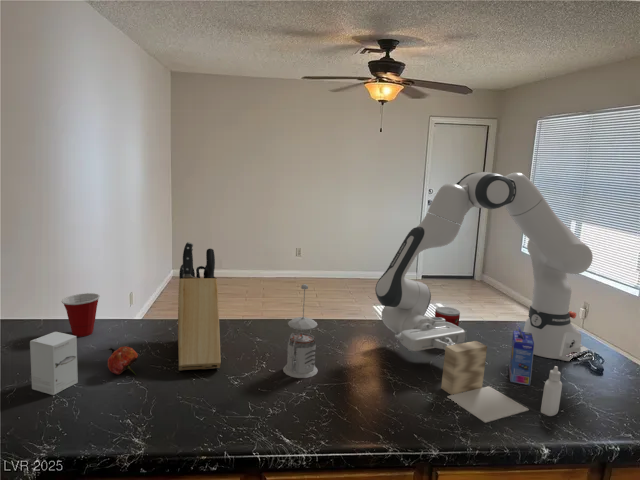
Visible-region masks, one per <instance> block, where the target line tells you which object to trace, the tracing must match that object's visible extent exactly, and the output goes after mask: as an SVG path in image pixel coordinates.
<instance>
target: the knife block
mask: <svg viewBox="0 0 640 480" xmlns="http://www.w3.org/2000/svg"><path fill="white" fill-rule="evenodd" d="M193 247H194V243H192V242H189V241H187V242H186V243H185V246H184V249H183V252H182V264H181V266H180V268H179V275H178V276H179V277H178V278H179V279H178V280H179V281H178V298H177V300H178V302H177V303H178V306H177V307H178V308H177V309H178V313H177V346H178V347H177V348H178V349H177V351H178V355H177V356H178V371H188V370H189V371H190V370H210V369H212V370H213V369H220V368H221V362H222V361H221V358H222V357H221V336H220V335H221V334H220V333H221V331H220V312H219V311H220V309H219V308H220V307H219V291H218V290H219V289H218V288H219V287H218V278H217V277H215V268H216V267H215V265H216V258H215V251H214V249H213V248H208V249H206V257H205V258H206V259H205V260H206V262H205V263H206V265H205V266H203V265H201V266H197V267H196V268H194V257H193V250H194V249H193ZM200 270H203V278H201V275H200Z"/></svg>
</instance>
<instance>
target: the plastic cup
mask: <svg viewBox="0 0 640 480" xmlns="http://www.w3.org/2000/svg"><path fill="white" fill-rule="evenodd" d="M100 297H101V296H100V294H99V293H94V292H93V293H92V292H91V293H90V292H87V293H85V292H84V293H79V294H73V295H70V296H67V297H64V298H62V300H61V303H62V304H63V306H64V308H65V311H66V315H67V318H68V323H69V325H70V326H69V327H70V329H71V333H72V335H74V336H77V337H80V338H81V337H88V336H90V335H92V334H93V332H94V326H95V323H96V317H97V308H98V303H99V299H100Z"/></svg>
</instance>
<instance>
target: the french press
mask: <svg viewBox="0 0 640 480" xmlns="http://www.w3.org/2000/svg"><path fill="white" fill-rule="evenodd" d="M300 288H301V289H302V290H303V301H305V296H306V290H309V285H308V284H306V283H303V284H302V285H301V287H300ZM302 306H303V310H302V316H301V317H299V316H298V317H295V318H292V319H291V320H289V321H288V322H287V324H288V326H289V328H291V329H294V330H299V331H301V332H296V333H294V332H292V333H291V334H290V335H289V336H288V337H289V339H288V341H287V359H286V361H287V362H286V364H285V366H284V367H283V368H282V370H283V373H285V375H287V376H290V377H291V378H295V379H296V378H297V379H306V378H312V377H314V376H316V375H317V373H318V368H317V367H316V365H315V362H316V361H315V359H316V352H315V351H316V347H317V346H316V344H317V343H316V341H315V339H316V337H315V336H314V335H312V334H310V333H308V332H307V333H306V332H304V331H307V330H313V329H315V328H317V327H318V323H317V321H315V320H314V319H312V318H309V317H305V303H303V305H302ZM292 345H293V346H292ZM299 345H300V346H299Z"/></svg>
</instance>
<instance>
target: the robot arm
mask: <svg viewBox="0 0 640 480" xmlns="http://www.w3.org/2000/svg"><path fill="white" fill-rule="evenodd" d="M474 207H475V208H479V209H487V210H496V209H499V208H503V207H504V208H505V210H506V212H507V213H508V214H509V216H510V217H511V218H512V220H513V221H514V223H515V224H516V225H517V227H518V228H519V230H520V231H521V233H522V235H524V236H525V237H526V238H527V239H529V240H528V241H527V246H526V248H527V252H528V254H529V257H530V259H531V266H532V275H533V289H532V290H533V291H532V298H531V305H529V309H528V318H527V319H526V320H525V323H524V328H523V331H522V332H527V333H532V337H533V341H534V352H533V356H534V355H535V356H537V357H541V358H548V359H555V360H561V361H566V362H570V360H571V359H572V358H573V356H572V355H569V357H567V356H565V355H568V354H569V353H570V352H573V351H574V352H583V351H588V352H589V348H587V346H584V344H582V333H581V332H580V330H578V329H577V328H576V326H574V325H573V324H572V323H571V319H576V317H577V313H576V312H574V311H572V310H571V311H569V310H570V304H571V303H570V302H571V296H572V287H571V284H570V283H569V280H568V276H567V274H570V275H571V274H573V275H580V274H583V273H584V272H586V271H587V270H588V269H589V268H590V267H591V265H592V263H593V258H594V257H593V252H592V249H591V248H590V247H589V246H588V245H586V243H584V242H582V241H581V239H579V237H578V236H576V234H575V233H574V232H573V231H572V230H571V228H569V227H568V225H566V224H565V222H564V221H562V220H561V219H560V217H558V215H557V214H556V213H555V212H554V210H553V209H552V208H551V206H550V204H549V203H548V202H547V200H546V199H545V197H544V196H543V194H542V192H541V191H540V190H539V189H538V187H537V186H536V185H535V184H534V183H533V181H531V180H530V178H529V177H527V176H526V175H525V174H524V173H522V172H512V173H508V174H506V175H502V174H500V173H496V172H489V171H488V172H486V171H481V172H471V173H468V174H467V175H464V176H463V177H462V178H461V179H460V180H459V181H458V182H456V183H445V184H443V185H442V186H440V188H439V190H438V191H437V193H436V194H435V196H434V198H433V199H432V202H431V203H430V205H429V208H428V210H427V212H426V214H425V216H424V218H423V219H422V221H421V222H420V223H419V224H418V225H417V226H416V227H413V228H412V229H411V230H410V231H409V232H408V234H407V235H406V236H405V238H404V240H403V241H402V243H401V245H400V246H399V248H398V250H397V252H396V253H395V255H394V257H393V258H392V260H391V262H390V263H389V266H388V267H387V269H386V270H385V271H384V273H383V274H382V275H381V276H380V277H379V279H378V281H377V282H376V284H375V288H374V289H375V290H374V291H375V296H376V298H377V301H379V303H380V305H381V306H384V307H383V308H382V310H381V320H382V322H383V324H384V325H385V326H386V327H387V329H389V330H390V331H391V332H393V333H395V334H394V338H395V339H396V340H398V341H399V342H400V344H401V345H402V346H403V347H404V348H406V349H407V350H408V351H410V352H419V351H424V350H430V349H435V348H436V349H440V350H444V351H445V348H446V346H450V345H456V344H461V343H465V339H466V331H465V329H463V328H462V327H460V326H456V325H454V324H452V323H449V322H445V319H444V318H440V317H435V316H428V315H426V313H427V310H428V308H429V307H430V304H431V299H432V294H431V290H430V287H429V286H428V285H427V284H426V283H425V282H421V281H419V280H415V279H410V278H407V277H406V275H407V273H408V271H409V269H410V268H411V266H412V264H413V262H414V261H415V260H416V258H417V256H418V255H419V254H420V253H421V252H423V251H426V250H429V249H434V248H441V247H446V246H448V245H449V244H451V243H452V242H454V240H455V239H456V237H457V235H458V234H459V231H460V230H461V227H462V224H463V223H464V219H465V216H466V215H467V213H468V212H469V211H470V209H472V208H474ZM570 356H571V357H570ZM571 361H572V360H571Z"/></svg>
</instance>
